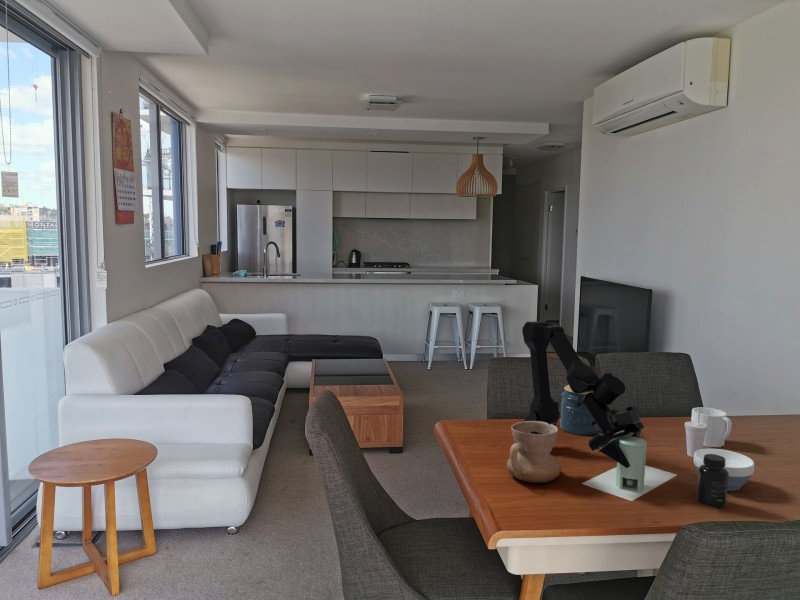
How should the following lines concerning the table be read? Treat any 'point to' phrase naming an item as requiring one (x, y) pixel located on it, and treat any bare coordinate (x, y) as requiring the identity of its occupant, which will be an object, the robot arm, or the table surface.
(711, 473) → the supplement bottle
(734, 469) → the bowl
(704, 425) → the smoothie
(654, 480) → the off-white mat
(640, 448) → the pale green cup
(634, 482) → the steel ball
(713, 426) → the mug
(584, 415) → the canister
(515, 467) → the ceramic jug
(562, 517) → the table surface
